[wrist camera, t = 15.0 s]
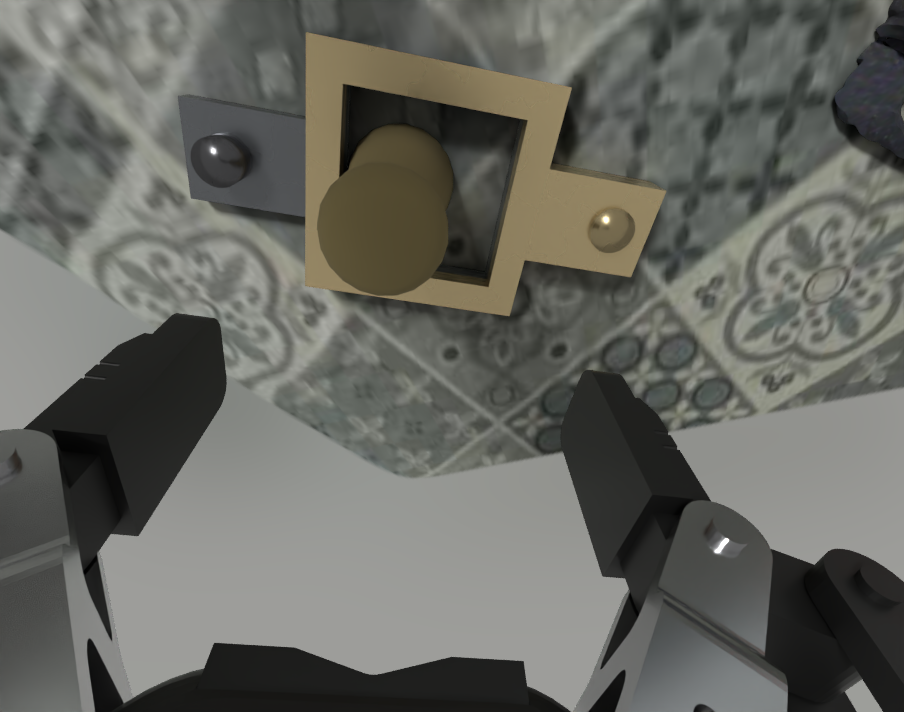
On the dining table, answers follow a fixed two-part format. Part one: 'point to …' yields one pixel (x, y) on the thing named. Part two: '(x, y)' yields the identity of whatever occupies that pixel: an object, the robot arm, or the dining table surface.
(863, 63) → the crumpled black pouch
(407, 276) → the brown rounded peg
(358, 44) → the chain end
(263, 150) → the chain end
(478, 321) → the dining table surface
